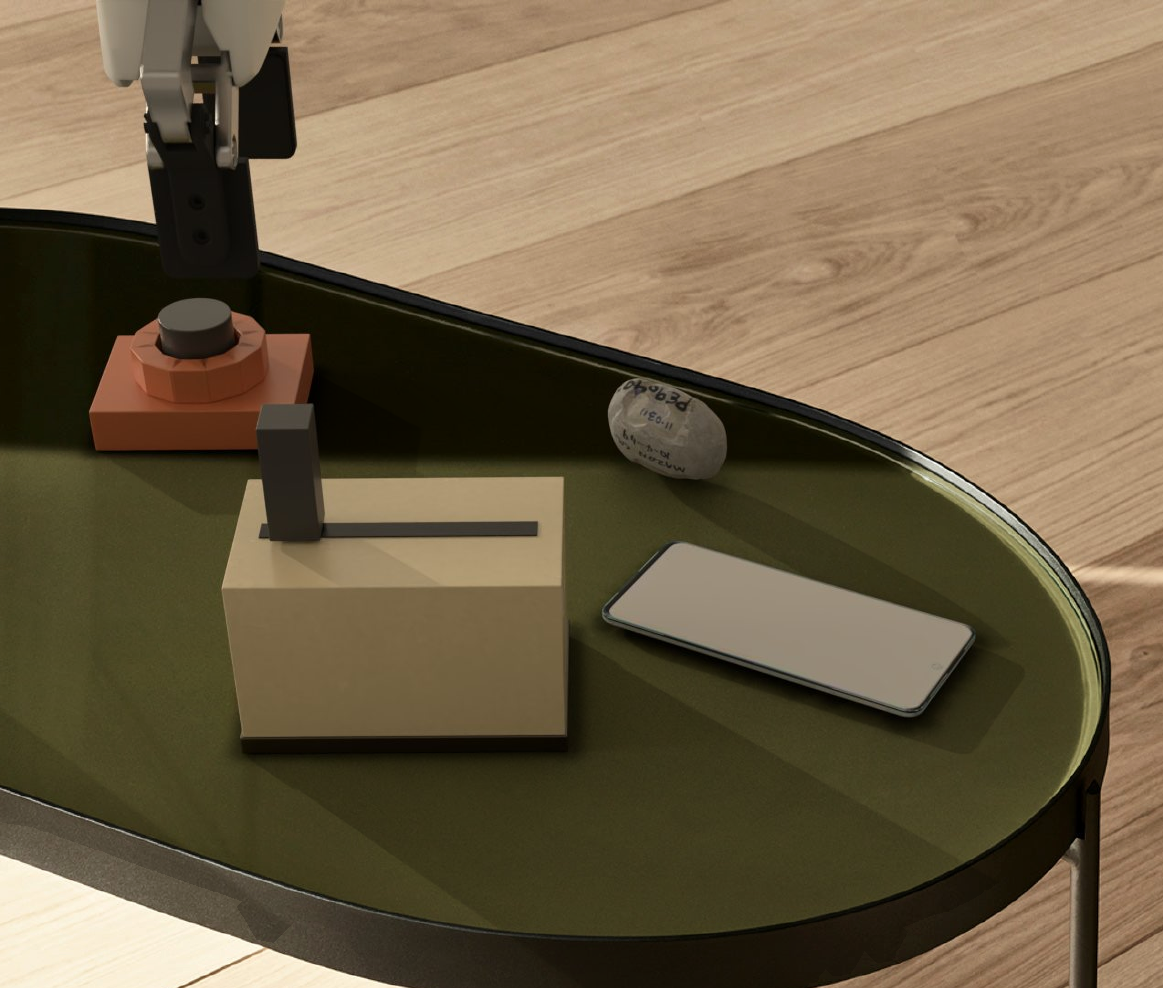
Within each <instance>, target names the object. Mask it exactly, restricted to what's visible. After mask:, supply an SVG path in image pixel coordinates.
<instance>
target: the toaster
mask: <svg viewBox="0 0 1163 988" xmlns="http://www.w3.org/2000/svg"><path fill="white" fill-rule="evenodd" d="M321 480H322V490H323V499H324V509H325V517H324V522H323V527H322V533H321V538H320V541H270V540H269V533H268V525H267V517H266V509H265V501H264V493H263V485H262V478H260V479H257V478H256V479H255V478H254V479H252V478H250V479H247V482H246V487H245V490H244V494H243V499H242V503H241V507H240V511H239V515H238V519H237V524H236V527H235V532H234V536H233V540H232V543H231V548H230V552H229V555H228V556H229V557H228V560H227V565H226V569H225V572H224V577H223V581H222V585H221V596H222V602H223V609H224V615H225V622H226V630H227V637H228V644H229V649H230V650H229V651H230V657H231V664H232V670H233V678H234V685H235V690H236V692H235V693H236V698H237V699H236V700H237V705H238V712H239V719H240V725H241V726H240V727H241V733H240V738H239V739H240V746H241V747H240V748H241V753H242V754H332V753H335V754H336V753H337V754H338V753H340V754H345V753H350V754H351V753H354V754H355V753H362V754H363V753H470V752H471V753H478V752H479V753H484V752H488V753H489V752H491V753H493V752H495V753H496V752H497V753H498V752H502V753H503V752H505V753H506V752H568V750H569V704H570V703H569V702H570V701H569V699H570V643H571V642H570V640H571V639H570V638H571V637H570V635H571V631H570V627H571V625H570V620H569V619H568V604H567V603H568V601H567V598H568V597H567V555H566V554H567V553H566V549H567V548H566V505H565V477H564V476H505V477H504V476H502V477H501V476H500V477H498V476H497V477H496V476H495V477H493V476H492V477H489V476H488V477H486V476H485V477H483V476H482V477H388V478H387V477H386V478H385V477H384V478H383V477H380V478H379V477H377V478H376V477H375V478H374V477H373V478H369V477H368V478H363V477H362V478H321Z"/></svg>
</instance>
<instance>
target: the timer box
mask: <svg viewBox="0 0 1163 988" xmlns="http://www.w3.org/2000/svg"><path fill="white" fill-rule="evenodd" d="M231 314H232V321H233V329H234V337H235V346H234V347H233V348H232V349H230V350H229V351H227V352H226V353H225V354H222V355H218V356H214V357H210V358H206V359H177V358H173V357H170V356H167V355H165V354H164V352H163V350H162V343H161V337H160V330H159V324H158V317H157V318H156V319H154V320H153V321H150V322H149V323H148V324H145V326H143V327H142V328H140V329H138V330H137V331H136V332H135V334H134V335H117V337H116V339H115V341H114V345H113V346H112V350H111V353H110V355H109V358H108V361H107V363H106V366H105V368H104V371H103V374H102V377H101V379H100V382H99V384H98V387H97V390H96V393H95V396H94V398H93V401H92V404H91V405H90V409H89V412H88V415H89V420H90V426H91V430H92V437H93V442H94V447H95V451H97V452H98V451H99V452H102V451H103V452H104V451H105V452H109V451H110V452H111V451H116V452H117V451H122V452H123V451H220V450H221V451H225V450H226V451H227V450H229V451H230V450H231V451H235V450H237V451H238V450H258V446H257V438H256V427H257V423H258V419H259V415H260V411H261V407H262V405H263V404H308V401H309V396H310V391H311V386H312V383H313V376H314V372H315V368H314V357H313V349H312V347H313V346H312V340H311V339H312V338H311V334H310V333H271V334H270V333H269V334H268V333H267V334H266V330H265V329H264V328H263V326H261V325H260V324H259V323H258V322H257V321H256V320H255V318H253V317H252V316H251V315H245V314H242V313H238V312H235V311H232V310H231Z"/></svg>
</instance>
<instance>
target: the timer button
mask: <svg viewBox="0 0 1163 988" xmlns="http://www.w3.org/2000/svg"><path fill="white" fill-rule="evenodd" d="M231 311H232V309H231V308H230V306H229V305H228V304H226V303H225V302H223V301H221V300H218V299H214V298H207V297H195V298H185V299H181V300H177V301H175V302H172V303H170V304H168V305H166V306H165V307H163V308H162V309H161V310H160V312H159V313H158V316H157V318H158V324H159V330H160V337H161V343H162V350H163V352H164V354H165V355H167V356H170V357H173V358H177V359H206V358H210V357H214V356H218V355H222V354H225V353H226V352H227V351H229V350H230V349H232V348H233V347H234V346H235V337H234V329H233V321H232V314H231Z"/></svg>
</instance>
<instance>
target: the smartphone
mask: <svg viewBox="0 0 1163 988" xmlns="http://www.w3.org/2000/svg"><path fill="white" fill-rule="evenodd" d="M601 609H602V610H601V613H602V615H601V616H602V618H603V620H604V621H605V622H606V623H608V624H609V625H611V626H615V627H618V628H621V629H624V630H627V631H631V632H634V633H637V634H640V635H643V636H646V637H649V638H653V639H656V640H659V641H662V642H664V643H665V642H666V643H668V644H671V645H675V646H678V647H682V648H684V649H688V650H690V651H694V652H697V653H701V654H704V655H705V656H709V657H713V658H716V659H719V660H722V661H726V662H728V663H731V664H735V665H737V666H740V667H745V668H747V669H750V670H753V671H757V672H760V673H763V674H766V675H769V676H773V677H776V678H779V679H782V680H785V681H789V682H791V683H795V684H797V685H801V686H804V687H808V688H811V689H813V690H816V691H821V692H823V693H826V694H830V695H832V696H836V697H839V698H842V699H845V700H849V701H851V702H854V703H858V704H861V705H864V706H867V707H870V708H874V709H876V710H881V711H883V712H887V713H889V714H893V715H896V716H899V717H904V718H915V717H918V716H920V715H921V714H922V713H923V712H924V711H925V710H926V708H927V707H928V705H929V704H930V703H931V701H932V700H933V698H934V697H935V696H936V695H937V693H938V692H939V690H940V689H941V688H942V686H943V685H944V684H945V682H946V681H947V679H948V678H949V677H950V675H951V674H952V672H953V671H954V670H955V669H956V667H957V666H958V664H959V663H960V662H961V660H962V659H963V657H965V656H966V653H967V652H968V650H969V649H970V648H971V646H972V645H974V643H975V640H976V634H977V633H976V630H975V629H974V628H973V627H972V626H970V625H969V624H966V623H962V622H959V621H956V620H953V619H948V618H945V617H941V616H938V615H935V614H932V613H928V612H924V611H921V610H918V609H915V608H912V607H907V606H904V605H901V604H897V603H894V602H890V601H888V600H884V599H881V598H877V597H873V596H870V595H867V594H863V593H861V592H857V591H853V590H850V589H846V588H843V587H839V586H837V585H833V584H830V583H826V582H823V581H820V580H816V579H813V578H809V577H806V576H802V575H799V574H796V573H792V572H789V571H785V570H783V569H778V568H775V567H772V566H768V565H766V564H762V563H758V562H754V561H752V560H748V559H745V558H742V557H739V556H738V557H737V556H734V555H731V554H728V553H725V552H721V551H717V550H714V549H711V548H708V547H705V546H701V545H698V544H694V543H690V542H687V541H684V540H683V541H682V540H672V541H669V542H667V543H665V544H664V545H663V546H662V547H661V548H660V549H659V550H658V551H656V553H655V554H654V555H652V556H651V558H650V559H649V560H648V561H647V562H646V563H645V564H644V565H643V566H642V567H641V568H640V569H639V570H638V571H637V572H636V573H635V574H634V575H633V576H632V577H631V578H630V579H629V580H628V581H627V583H626V584H624V586H623V587H621V589H619V590H618V591H617V593H615V595H614V596H613V597H611V598H610V599H609V601H607V603H605V604H604V606H602V608H601Z"/></svg>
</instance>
